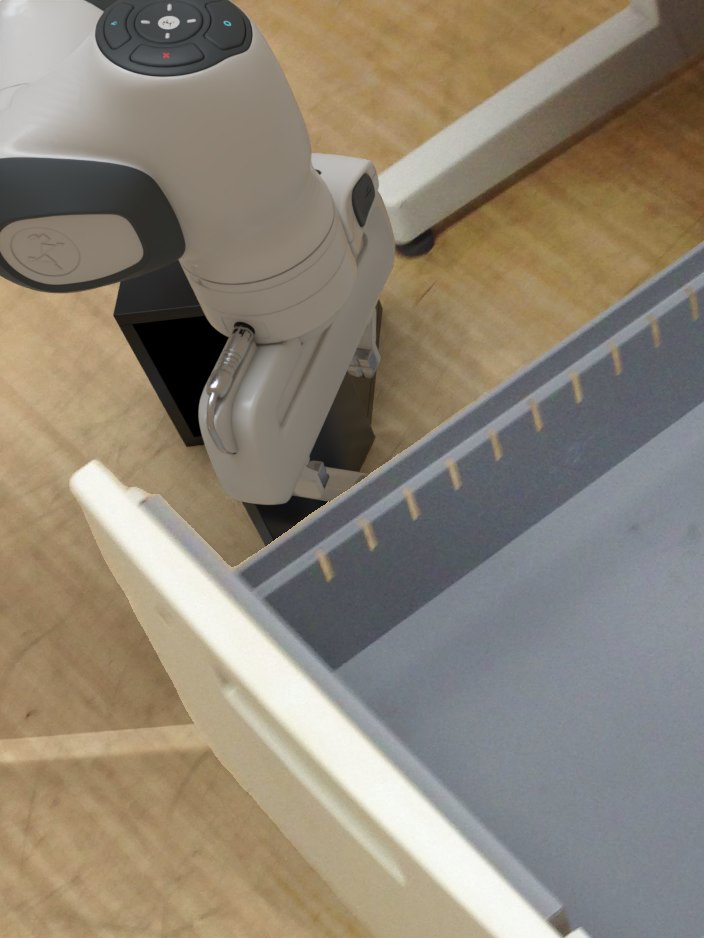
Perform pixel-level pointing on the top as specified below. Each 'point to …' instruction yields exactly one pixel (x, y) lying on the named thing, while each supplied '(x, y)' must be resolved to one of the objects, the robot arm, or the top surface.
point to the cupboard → (184, 344)
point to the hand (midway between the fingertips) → (340, 427)
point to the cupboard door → (342, 456)
